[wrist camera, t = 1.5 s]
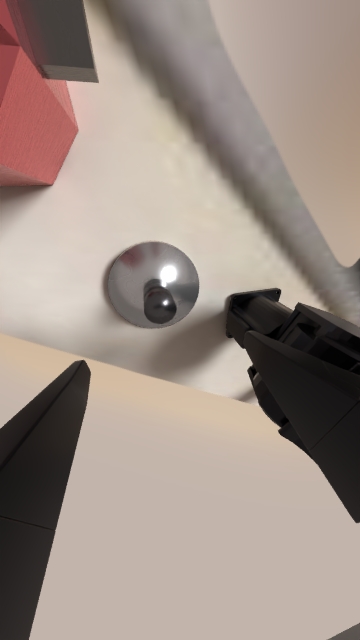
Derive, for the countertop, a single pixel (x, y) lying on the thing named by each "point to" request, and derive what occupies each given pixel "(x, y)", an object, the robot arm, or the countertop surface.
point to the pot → (40, 85)
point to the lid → (153, 284)
